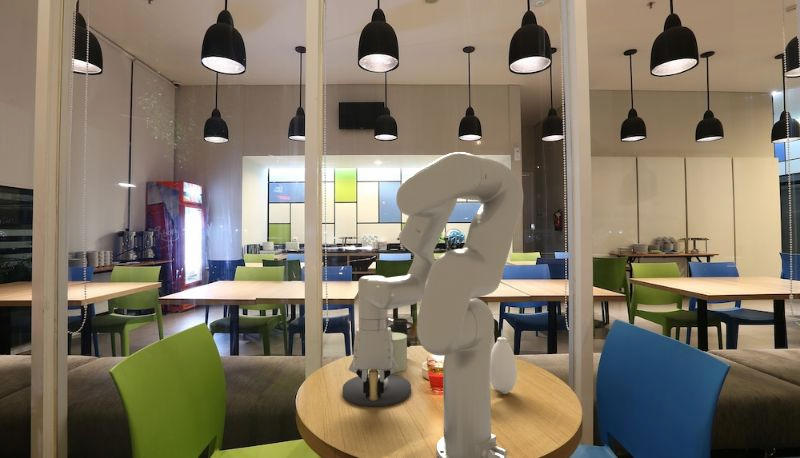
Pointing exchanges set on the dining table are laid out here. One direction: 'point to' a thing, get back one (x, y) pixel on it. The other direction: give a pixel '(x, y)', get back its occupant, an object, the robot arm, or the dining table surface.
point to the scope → (401, 327)
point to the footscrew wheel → (393, 390)
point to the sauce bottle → (503, 366)
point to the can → (400, 350)
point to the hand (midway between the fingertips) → (373, 395)
